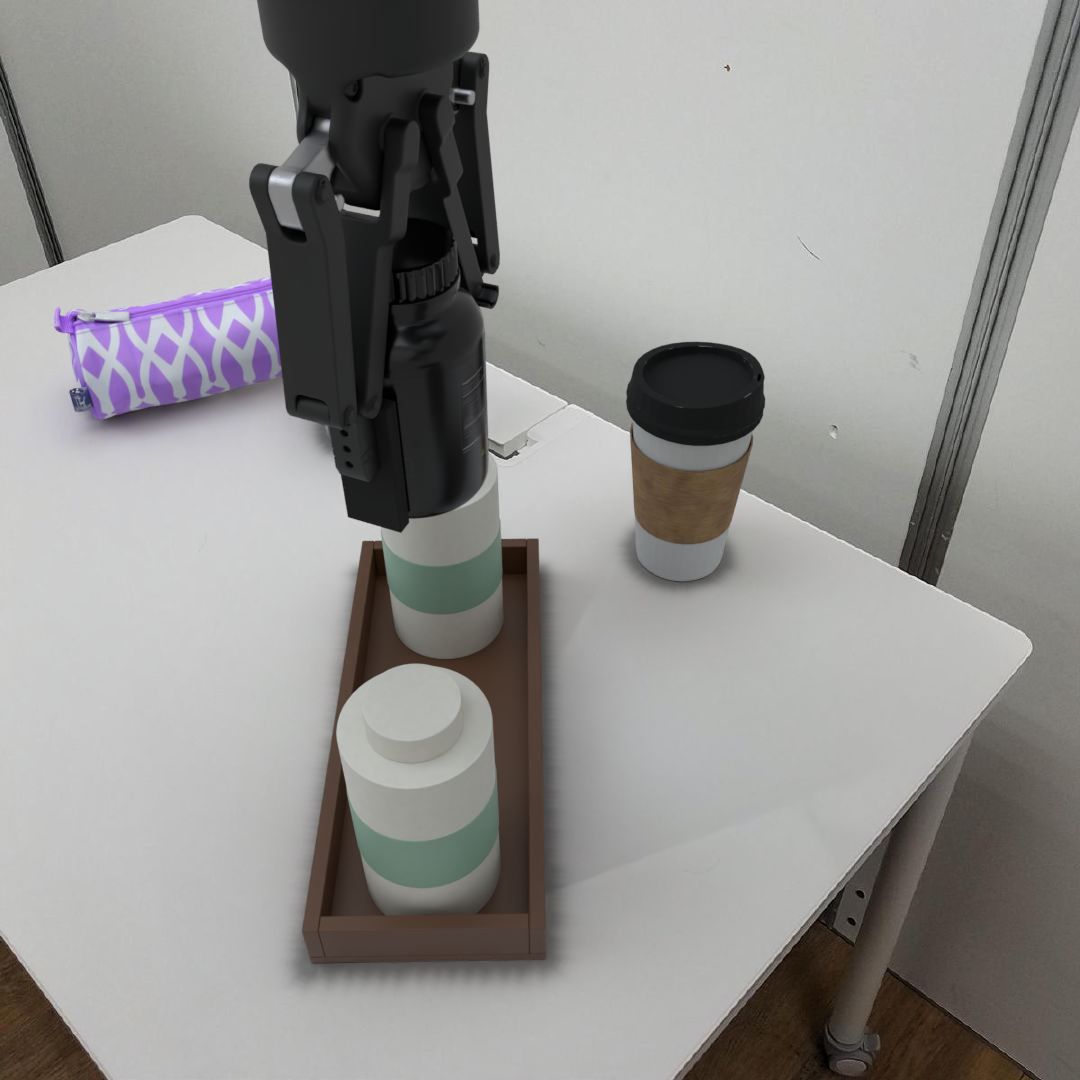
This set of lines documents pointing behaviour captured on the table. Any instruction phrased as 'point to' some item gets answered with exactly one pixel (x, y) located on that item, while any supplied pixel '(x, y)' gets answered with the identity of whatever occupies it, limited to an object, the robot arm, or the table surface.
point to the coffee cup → (690, 451)
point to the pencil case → (172, 349)
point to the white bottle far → (448, 576)
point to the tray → (516, 704)
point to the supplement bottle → (436, 372)
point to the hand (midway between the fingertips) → (418, 470)
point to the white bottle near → (422, 790)
